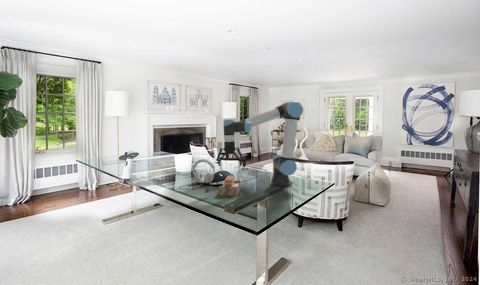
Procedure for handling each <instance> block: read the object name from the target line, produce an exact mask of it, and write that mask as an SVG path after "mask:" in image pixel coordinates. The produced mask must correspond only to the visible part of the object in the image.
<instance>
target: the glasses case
mask: <svg viewBox="0 0 480 285" xmlns="http://www.w3.org/2000/svg"><path fill="white" fill-rule="evenodd" d="M224 180H225V181H224V182H223V184H225V186H230V187H233V186H234V184H235V180H236V175H227V176H226V177H225V179H224Z"/></svg>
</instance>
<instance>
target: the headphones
mask: <svg viewBox="0 0 480 285" xmlns="http://www.w3.org/2000/svg"><path fill="white" fill-rule="evenodd" d="M200 163H206V164H208V165H209V166H210V167H211V169H212V170H213V172H212V171H207V172H206V174H205V176H204V174H203V172H201V171H200V170H198V171H196V172H195V169H196V167H197V165H199V164H200ZM192 173H193V176H194V180H195V182H196V183H198V184H203V183H204V184H210V183H212V181H213V179H214V176H215V173H216V169H215V165H214V164H213V162H212V161H210V160H209V159H205V158H202V159H198V160H197V161H196V162H194V164H193V166H192Z"/></svg>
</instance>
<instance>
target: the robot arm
mask: <svg viewBox="0 0 480 285" xmlns="http://www.w3.org/2000/svg"><path fill="white" fill-rule="evenodd" d="M303 113H304V107H303V104H301V103H300V102H298V101H295V100H291V101H289V102H284V103H282V104H281V105H278V106H275V107H274V109H271V110H268V111H265V112H262V113H258V114H256V115H253V116H251V117H248V118H245V119H242V120H240V121H235V120H234V118H233V119H231V118H229V119H224V120H223V126H222V127H223V141H224V144H223V147H220V148H219V153H218V155H217V157H216V159H215V161H216V162H218V166H219V169H220V172H222V171H223V161H222V160H223V159H224V157H225V156H227V155H233V156H235V157H236V159H237V160H238V171H239V172H240V171H242V170H241V169H242V168H241V166H243V161H245V158H244V156H243V154H242V152H241V149H240V147H236V142H235V139H236V138H235V133H249V132H251V131H252V128H254V127H257V126H260V125H262V124H265V123H268V122H272V121H274V120H277V119H278V120H280V119H283V120H284V122H285V123H284V131H283V132H284V134H283V141H282V148H281V149H282V152H281V154H280V155H273V157H272V171H273V172H272V173H273V174H272V176H271V180H270V184H271V186H272V185H273V186H276V187H288V186H289V185H291V181H290V177H289V176H291V175H294V174H295V173H296V172H297V169H298V168H297V167H298V166H297V163H296V156H295V155H294V153H295V147H296V146H295V145H296V136H297V127H298V123H299V122H300V120H301V116H302V115H303ZM223 151H224V152H223ZM236 151H237V152H236ZM222 153H223V155H222ZM237 153H238V154H237ZM220 156H221V157H220Z"/></svg>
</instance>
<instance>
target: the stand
mask: <svg viewBox="0 0 480 285" xmlns="http://www.w3.org/2000/svg"><path fill="white" fill-rule="evenodd" d="M223 181H224V182H225V179H224V180H223ZM240 191H241V180H239V179H238V180H237V179H235V184H234V186H233V187H230V186H225V184H224V183H223V184H222V185H220V186H219V187H218V193H219V194H218V196H228V197H229V196H233V197H234V196H237V195H238V194H239V192H240Z"/></svg>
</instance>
